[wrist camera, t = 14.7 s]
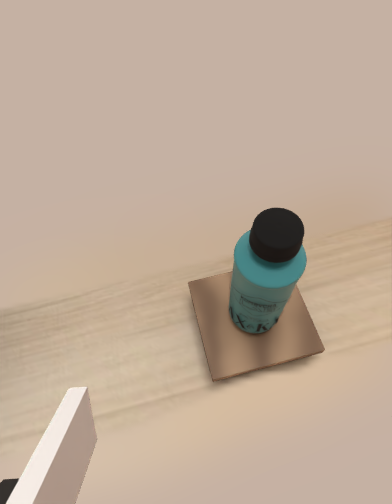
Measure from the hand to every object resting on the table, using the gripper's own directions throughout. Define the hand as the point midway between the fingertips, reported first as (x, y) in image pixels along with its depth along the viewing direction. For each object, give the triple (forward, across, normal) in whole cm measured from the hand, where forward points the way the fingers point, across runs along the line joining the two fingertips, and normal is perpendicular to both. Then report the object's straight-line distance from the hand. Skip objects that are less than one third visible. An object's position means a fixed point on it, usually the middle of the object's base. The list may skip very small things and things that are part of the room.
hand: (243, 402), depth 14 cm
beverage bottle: (+26, +5, -9) cm, 28 cm away
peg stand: (+30, +5, -13) cm, 33 cm away
